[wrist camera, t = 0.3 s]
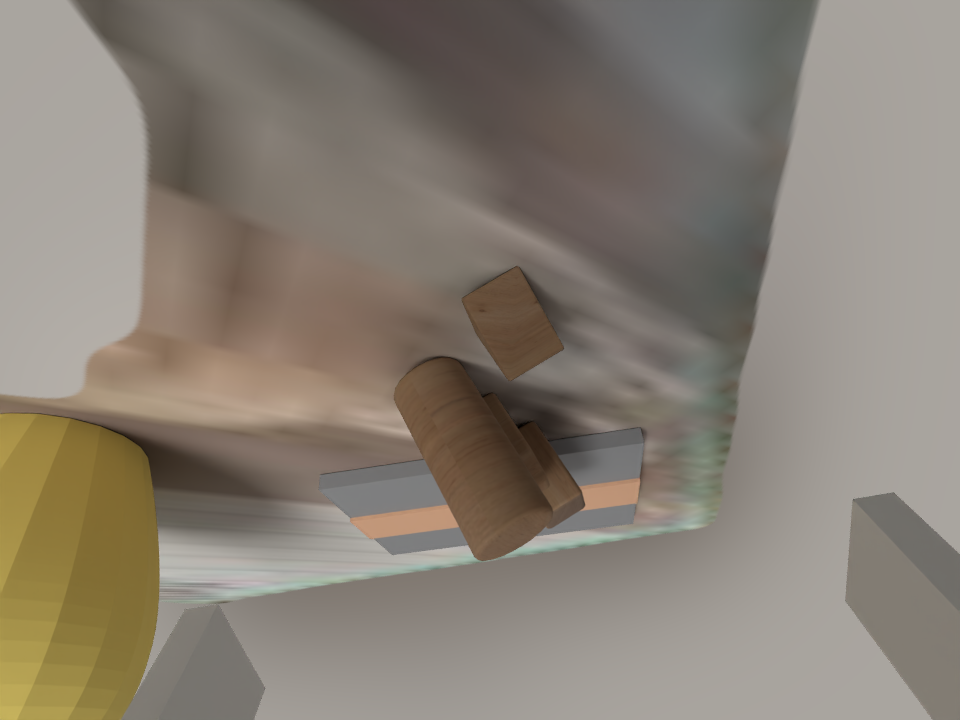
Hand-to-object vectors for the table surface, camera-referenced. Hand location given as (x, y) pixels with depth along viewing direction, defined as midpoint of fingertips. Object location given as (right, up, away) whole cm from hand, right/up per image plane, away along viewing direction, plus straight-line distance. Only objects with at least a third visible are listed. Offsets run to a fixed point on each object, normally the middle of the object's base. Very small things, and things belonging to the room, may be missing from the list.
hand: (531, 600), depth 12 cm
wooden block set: (-1, +4, +22) cm, 23 cm away
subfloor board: (0, -7, +37) cm, 37 cm away
